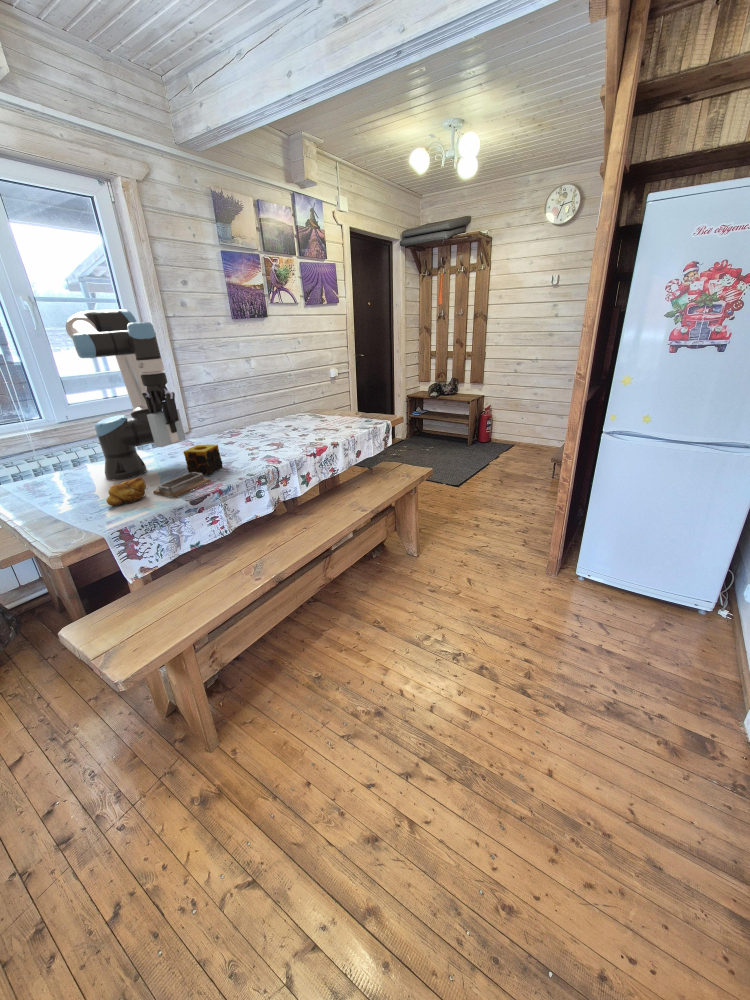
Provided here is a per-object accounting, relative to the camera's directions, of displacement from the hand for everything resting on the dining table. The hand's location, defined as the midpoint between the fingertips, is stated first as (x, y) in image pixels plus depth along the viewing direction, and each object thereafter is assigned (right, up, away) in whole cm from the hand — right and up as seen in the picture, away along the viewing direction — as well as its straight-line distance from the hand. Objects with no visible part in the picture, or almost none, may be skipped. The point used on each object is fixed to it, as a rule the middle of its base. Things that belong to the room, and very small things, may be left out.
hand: (170, 441), depth 148 cm
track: (+1, -16, +7) cm, 18 cm away
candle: (+3, -9, +24) cm, 26 cm away
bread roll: (-15, -21, -1) cm, 26 cm away
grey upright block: (0, -1, 0) cm, 1 cm away
